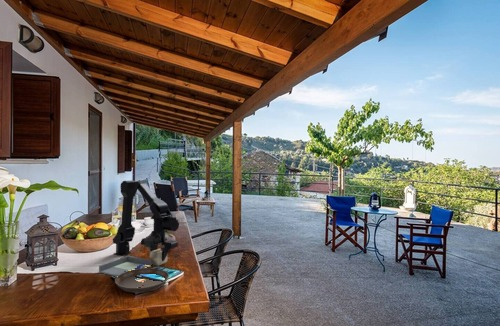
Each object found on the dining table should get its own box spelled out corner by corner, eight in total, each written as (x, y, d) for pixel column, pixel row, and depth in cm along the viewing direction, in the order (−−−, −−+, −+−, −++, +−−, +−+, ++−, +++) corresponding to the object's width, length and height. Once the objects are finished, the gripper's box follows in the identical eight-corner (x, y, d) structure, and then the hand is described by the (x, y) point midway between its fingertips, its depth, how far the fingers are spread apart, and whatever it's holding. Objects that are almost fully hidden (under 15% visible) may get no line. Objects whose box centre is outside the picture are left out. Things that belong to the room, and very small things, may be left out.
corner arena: (98, 272, 136) (99, 265, 137) (128, 261, 152) (128, 255, 152) (124, 278, 131) (124, 271, 131) (151, 266, 146) (151, 260, 146)
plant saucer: (167, 293, 117) (167, 285, 117) (109, 297, 112) (109, 288, 112) (170, 274, 137) (170, 267, 137) (121, 276, 133) (121, 269, 133)
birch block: (149, 264, 149) (150, 251, 149) (159, 260, 156) (159, 248, 156) (157, 265, 147) (158, 253, 147) (167, 261, 154) (167, 249, 154)
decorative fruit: (155, 250, 173) (155, 232, 173) (164, 246, 181) (164, 229, 181) (168, 252, 170) (169, 234, 170) (177, 248, 177) (178, 231, 177)
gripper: (132, 229, 148) (132, 262, 148) (164, 234, 140) (163, 268, 140) (149, 225, 158) (148, 255, 158) (178, 229, 151) (178, 261, 151)
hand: (158, 260), depth 151 cm, fingers closed on birch block, 5 cm apart
